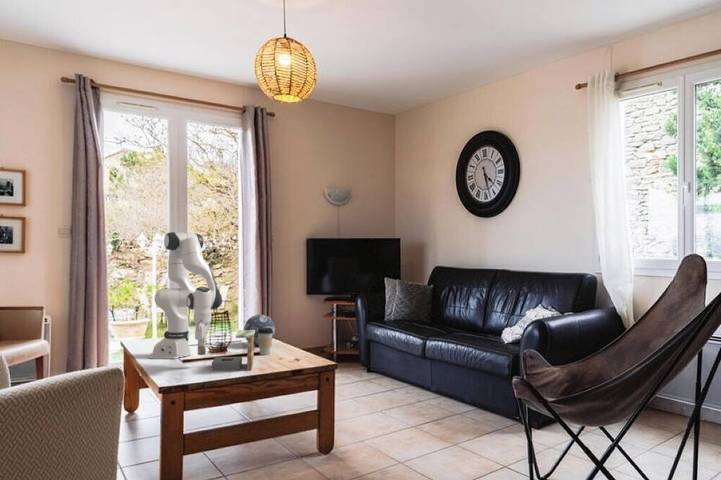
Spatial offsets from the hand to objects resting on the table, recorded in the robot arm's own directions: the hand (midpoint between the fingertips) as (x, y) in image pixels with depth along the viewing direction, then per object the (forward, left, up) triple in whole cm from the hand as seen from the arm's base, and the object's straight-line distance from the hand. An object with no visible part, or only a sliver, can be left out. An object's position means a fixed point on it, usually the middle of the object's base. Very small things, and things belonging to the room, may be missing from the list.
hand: (201, 344), depth 259 cm
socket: (+14, -2, -12) cm, 18 cm away
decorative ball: (+27, +53, -12) cm, 61 cm away
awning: (+23, -2, -12) cm, 26 cm away
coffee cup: (+32, +28, -12) cm, 44 cm away
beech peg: (0, 0, -5) cm, 5 cm away
